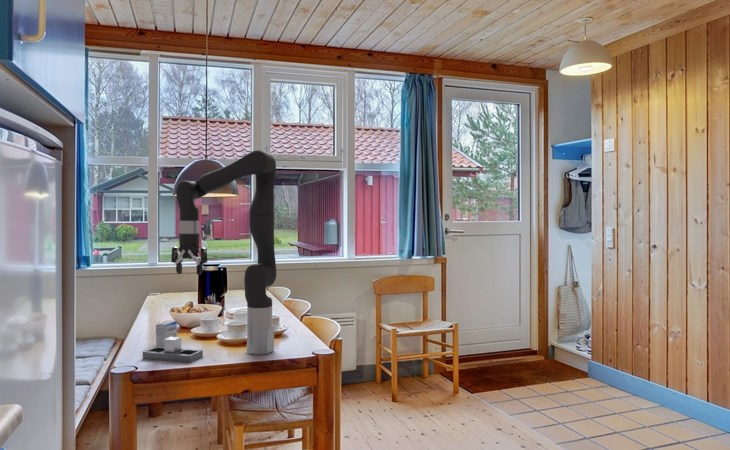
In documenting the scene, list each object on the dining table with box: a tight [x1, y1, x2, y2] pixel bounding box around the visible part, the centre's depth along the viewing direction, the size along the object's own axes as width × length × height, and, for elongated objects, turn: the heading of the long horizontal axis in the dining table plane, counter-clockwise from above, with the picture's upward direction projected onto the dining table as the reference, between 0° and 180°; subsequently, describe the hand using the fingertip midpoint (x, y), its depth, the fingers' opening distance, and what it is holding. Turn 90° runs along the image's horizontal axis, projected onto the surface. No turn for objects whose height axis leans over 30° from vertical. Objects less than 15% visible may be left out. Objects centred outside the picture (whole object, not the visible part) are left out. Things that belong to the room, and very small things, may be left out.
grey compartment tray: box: [142, 346, 204, 364], centre depth 184 cm, size 19×8×2 cm, turn 76°
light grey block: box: [164, 336, 182, 354], centre depth 184 cm, size 4×4×7 cm
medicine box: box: [155, 320, 178, 347], centre depth 203 cm, size 8×4×9 cm, turn 169°
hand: (189, 274), depth 200 cm, fingers open, 8 cm apart
